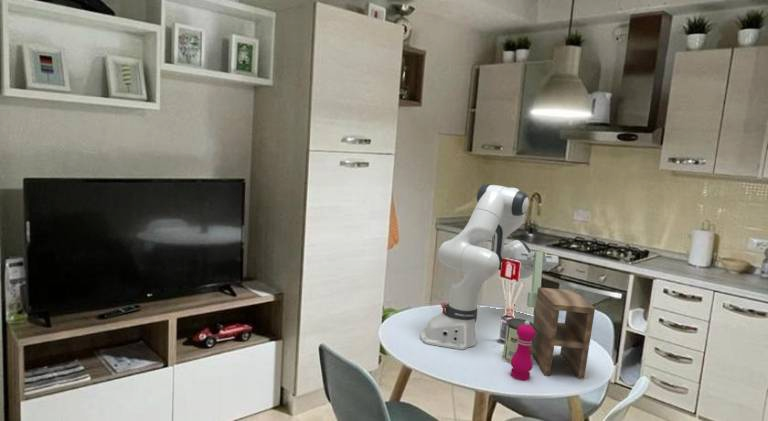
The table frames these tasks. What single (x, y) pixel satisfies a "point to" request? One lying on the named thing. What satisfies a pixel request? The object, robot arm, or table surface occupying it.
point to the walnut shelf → (562, 329)
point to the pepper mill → (523, 352)
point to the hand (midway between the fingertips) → (539, 254)
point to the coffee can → (513, 338)
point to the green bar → (535, 279)
